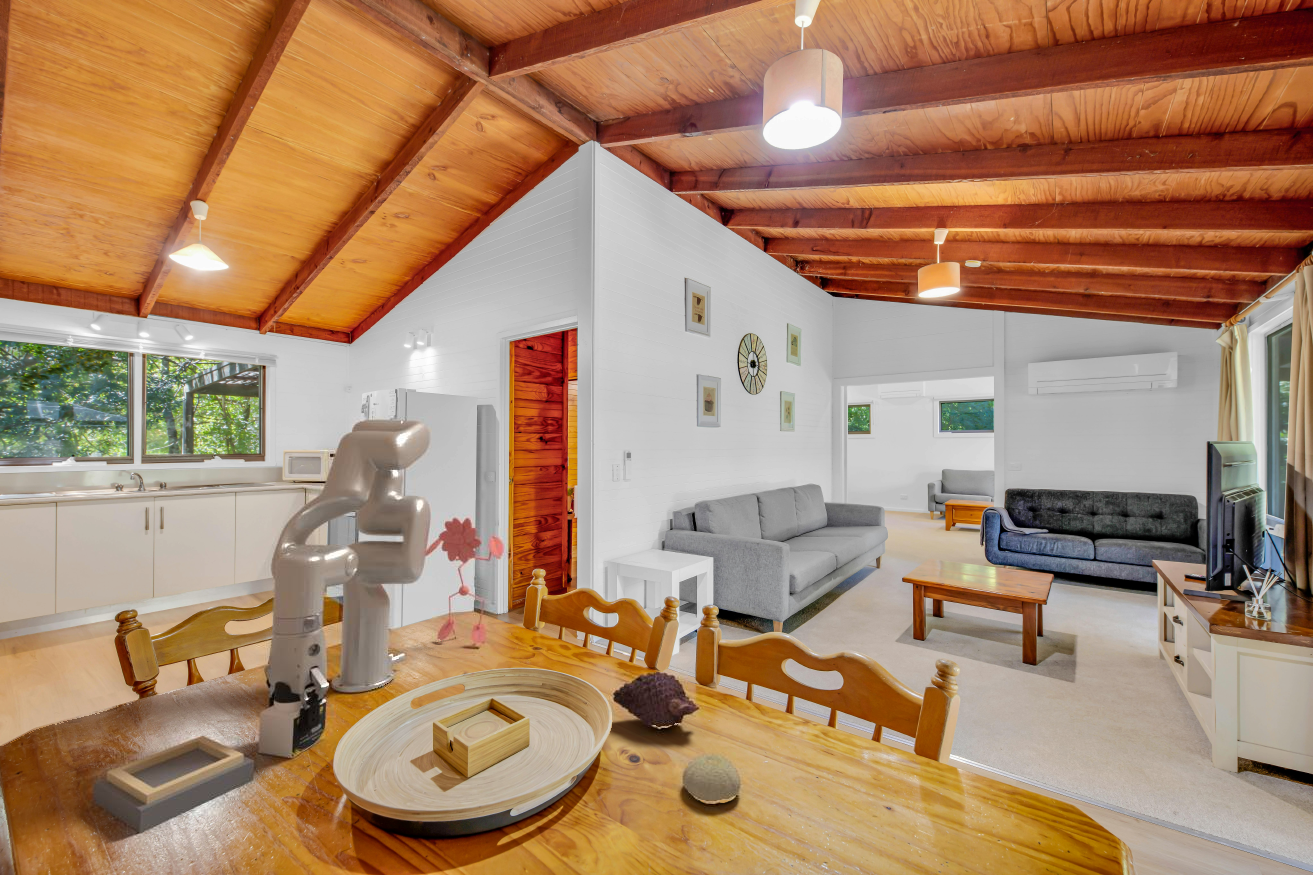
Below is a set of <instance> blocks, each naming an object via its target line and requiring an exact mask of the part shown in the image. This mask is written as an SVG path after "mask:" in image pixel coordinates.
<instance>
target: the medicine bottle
mask: <svg viewBox="0 0 1313 875" xmlns="http://www.w3.org/2000/svg"><path fill="white" fill-rule="evenodd" d="M309 687H311V684H309V685H307V686H305V689H307V688H309ZM306 694H307V697H308V699H309V698H310V697H311V696H312V695H313V693H312V692H309V693H306ZM301 708H303V706H302V703H301V700H300V697H299V694H296V693H292V692H291V688H290V687H289V686H288V685H287V684H285V683H283V682H276V683H275V692H274V705H273V706H271V707H269V706H268V708H265V709H263V710H262V711H261V712H260V714H259V716H260V717H259V734H258V735H259V736H258V737H259V738H258V753H259V754H260V755H261V754H263V755H268V756H269V755H270V756H276V757H281V758H287V759H294V758H295V757H297V756H298V755H300V754H302V753H303V752H305V751H306V750H308V749H310V748H311V747H313V746H315V745H316V744H318V743H320V742H321V741H323V740H324V739H325V737H326V716H327V712H326V711H327V700H326V699H325V698H323V701H322V703H321V704H320V717H319V725H318V726H317V727H314V728H312V729H310V730H307V731H305V732H303V733H301V732H299V718H300V709H301Z"/></svg>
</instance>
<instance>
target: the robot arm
mask: <svg viewBox="0 0 1313 875" xmlns="http://www.w3.org/2000/svg"><path fill="white" fill-rule="evenodd" d="M430 434H431V433H430V430H429V428H428V426H427V424H425V423H424V422H422V421H419V420H404V419H403V420H400V419H399V420H398V419H394V420H393V419H366V420H361V421H359V422H357V423H355V424H354V425H353V427H352V430H351V432H348V433H346V434H345V435H343V436H342V438H341V439H340V441H339V443H338V446H337V448H336V451H335V455H334V458H333V460H332V463H331V466H330V469H329V472H328V475H327V478H326V480H325V483H324V486H323V488H322V491H321V492H320V493H319V494H318V496H316V497H314V498H313V499H311V500H310V501H309V502H307V503H306V504H305V505H303V507H301V509H299V510H298V511H297V512H296V513H295V514H294V515H293V516H292V517H291V518H289V520H288V521H287V523H286V524H285V525H284V527H283V529H282V531H281V533H280V535H279V539H278V540H277V544H276V546H275V549H274V552H273V555H272V558H271V559H272V560H271V563H270V564H271V565H270V568H271V569H270V571H271V575H272V577H273V579H274V588H273V589H274V592H273V593H274V594H273V608H272V609H273V610H272V611H273V612H272V631H271V632H272V633H271V635H272V636H271V637H272V638H271V644H270V649H269V657H268V665H267V666H265V667H264V670H263V671H264V674H265V678H266V682H265V683H266V685H267V688H268V691H267V696H268V697H269V699H268V708H269V707H271V706H273V705H274V692H275V683H276V682H283V683H285V684H287V685H288V686H289V687H290V688H291V692H292V693H296V694H299V697H300V700H301V703H302V706H303V708H301V709H300V718H299V732H301V733H303V732H305V731H307V730H310V729H312V728H314V727H317V726H318V725H319V717H320V704H321V703H322V701H323V699H325V697H326V694H327V692H328V689H329V688H330V685H329V683H328V681H327V679H328V678H327V676H328V674H327V672H328V669H327V668H328V667H327V666H328V663H327V661H328V660H327V657H328V656H327V644H326V636H325V631H324V630H323V627H324V626H323V624H324V620H323V619H324V601H325V600H324V599H325V598H324V597H325V589H326V588H329V587H335V586H341V585H342V594H343V596H342V597H343V599H342V600H343V602H342V603H343V604H342V619H341V620H342V623H341V644H340V645H341V646H340V647H341V649H340V666H339V668H340V672H339V674H337V675H335V676H334V677H333V678H332V680H331V688H332V689H333V690H335V691H337V692H340V693H361V692H368V691H372V689H373V690H376V689H379V688H381V686H382V687H385V686H386V685H388V684H390V683H391V682H392V681H393V680H394V679H395V670H394V669H392V667H394V666H395V664H398V663H399V664H400V663H401V662H404V661H405V660H406V654H405V653H404V652H401V653H397V654H395V655H394V654H392V653H389V641H390V638H389V636H390V635H389V634H390V617H391V616H390V612H391V602H390V597H389V595H388V592H387V590H386V589H385V587H384V586H383V585H410V584H414V583H416V582H418V581H419V579H421V576H422V574H423V571H424V566H425V562H426V557H427V556H426V551H427V549H428V548H427V546H428V540H429V534H430V528H431V527H430V526H431V517H432V516H431V507H430V504H429V502H428V501H427V499H426V498H424V497H421V496H419V495H402V489H403V483H404V475H403V473H402V471H403V470H405V469H408V468H409V467H411V466H412V465H413V464H414V463H415V462H416V461H418V460H419V459H420V458H421V457H422V456H424V454H425V453H426V452H427V450H428V448H429V446H430V443H431V442H430V441H431V435H430ZM355 511H357V514H356V528H357V530H358V531H359V532H360V533H361V534H363V535H366V536H375V537H376V536H377V537H382V536H383V537H403V541H395V540H394V541H392V540H391V541H389V540H361V541H357V542H354V543H351V544H348V546H345V545H333V544H332V545H329V544H326V545H324V544H306V543H307V540H308V539H309V537H310V536H311V535H312V533H314V532H315V530H317V529H319V528H320V527H321V526H322V525H324V524H326V523H328V522H330V521H332V520H335V519H337V518H340V517H342V516H344V515H348V514H349V513H352V512H355ZM393 678H394V679H393ZM392 679H393V680H392ZM391 680H392V681H391ZM390 681H391V682H390ZM389 682H390V683H389ZM387 683H388V684H387ZM309 684H311V687H309V688H307V689H305V686H307V685H309ZM385 684H386V685H385ZM378 687H379V688H378ZM375 688H376V689H375ZM309 692H312V693H313V695H312V696H311V697H310V698H309V699H308V697H307V694H306V693H309Z"/></svg>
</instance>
